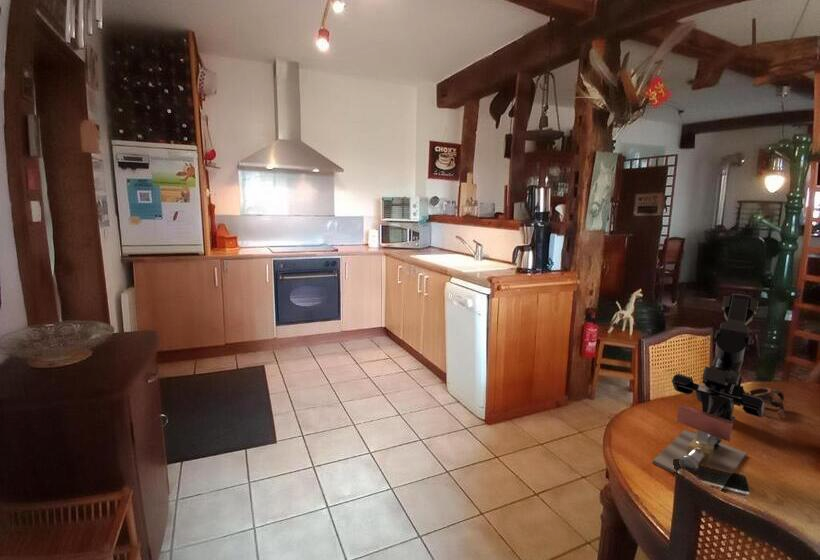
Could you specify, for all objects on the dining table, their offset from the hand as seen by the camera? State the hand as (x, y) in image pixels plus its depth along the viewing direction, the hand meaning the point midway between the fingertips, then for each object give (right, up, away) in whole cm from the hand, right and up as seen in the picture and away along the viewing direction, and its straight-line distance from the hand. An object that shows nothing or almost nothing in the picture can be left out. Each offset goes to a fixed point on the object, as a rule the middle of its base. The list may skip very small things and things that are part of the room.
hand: (704, 423), depth 103 cm
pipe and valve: (+1, -9, +3) cm, 10 cm away
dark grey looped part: (+40, -6, +29) cm, 50 cm away
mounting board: (0, -10, +2) cm, 10 cm away
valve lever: (0, -5, +1) cm, 5 cm away
